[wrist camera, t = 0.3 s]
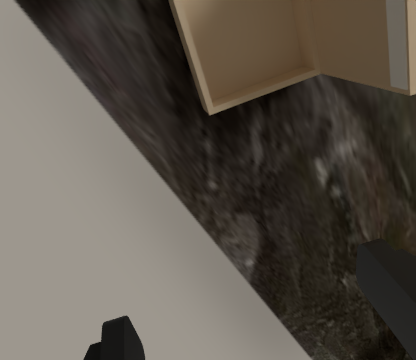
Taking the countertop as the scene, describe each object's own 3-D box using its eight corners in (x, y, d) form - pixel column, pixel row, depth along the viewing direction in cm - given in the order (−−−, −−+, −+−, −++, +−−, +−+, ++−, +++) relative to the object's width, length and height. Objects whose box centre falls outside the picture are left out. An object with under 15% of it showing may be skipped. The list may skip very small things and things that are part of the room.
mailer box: (154, -42, 30) (181, -94, 17) (286, -87, 31) (412, -171, 18) (202, 108, 37) (250, 157, 23) (311, 67, 38) (418, 92, 24)
